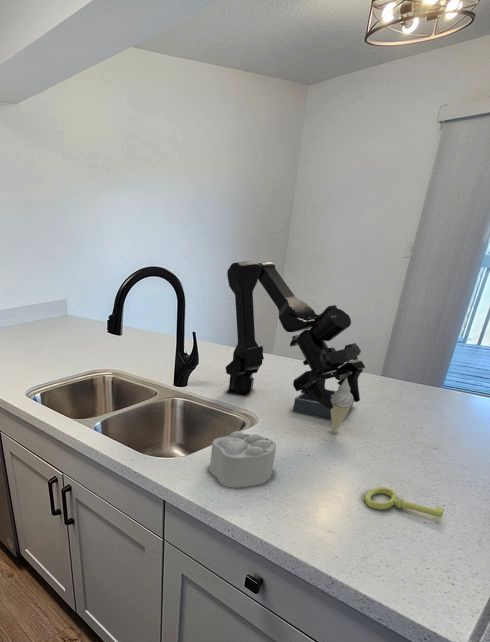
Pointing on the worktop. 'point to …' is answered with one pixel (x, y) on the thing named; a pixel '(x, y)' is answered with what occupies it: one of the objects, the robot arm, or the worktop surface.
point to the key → (398, 503)
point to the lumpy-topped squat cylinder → (242, 459)
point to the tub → (312, 406)
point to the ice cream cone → (340, 404)
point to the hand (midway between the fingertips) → (344, 405)
